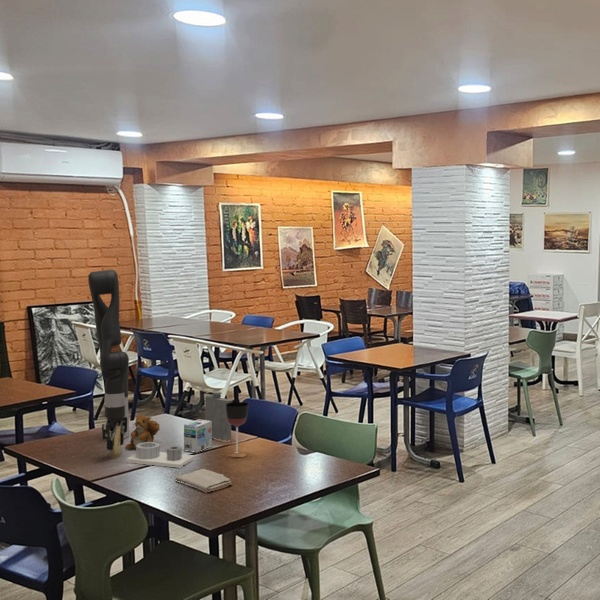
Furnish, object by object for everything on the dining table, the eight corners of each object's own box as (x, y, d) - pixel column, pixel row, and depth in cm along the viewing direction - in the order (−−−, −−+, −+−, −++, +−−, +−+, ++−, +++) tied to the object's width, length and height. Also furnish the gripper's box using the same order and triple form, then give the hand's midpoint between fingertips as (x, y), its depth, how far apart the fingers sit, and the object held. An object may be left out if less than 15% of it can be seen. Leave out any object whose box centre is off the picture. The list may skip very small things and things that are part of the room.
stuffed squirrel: (123, 449, 273) (122, 417, 272) (142, 440, 286) (142, 409, 285) (145, 452, 270) (145, 419, 269) (163, 443, 283) (163, 411, 282)
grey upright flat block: (232, 441, 286) (232, 394, 284) (224, 443, 283) (224, 395, 282) (210, 434, 297) (210, 388, 296) (202, 435, 294) (202, 389, 293)
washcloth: (207, 495, 223) (207, 486, 223) (173, 483, 235) (173, 474, 235) (234, 486, 232) (234, 477, 232) (200, 475, 244) (200, 466, 244)
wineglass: (250, 457, 264) (251, 405, 263) (228, 459, 261) (228, 407, 260) (244, 451, 272) (244, 401, 270) (223, 453, 268) (223, 403, 267)
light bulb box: (197, 453, 268) (197, 426, 268) (183, 451, 271) (183, 424, 271) (212, 446, 278) (212, 420, 277) (198, 444, 281) (198, 418, 280)
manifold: (126, 462, 256) (126, 448, 256) (143, 453, 267) (143, 439, 267) (180, 468, 249) (180, 453, 249) (194, 459, 261) (194, 445, 260)
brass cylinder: (113, 454, 266) (113, 424, 265) (122, 455, 264) (122, 425, 264) (107, 457, 262) (107, 426, 261) (116, 458, 261) (116, 427, 260)
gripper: (116, 399, 270) (117, 441, 271) (95, 407, 256) (95, 451, 257) (133, 401, 267) (133, 443, 269) (112, 409, 254) (113, 453, 255)
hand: (115, 447), depth 263 cm, fingers open, 6 cm apart
